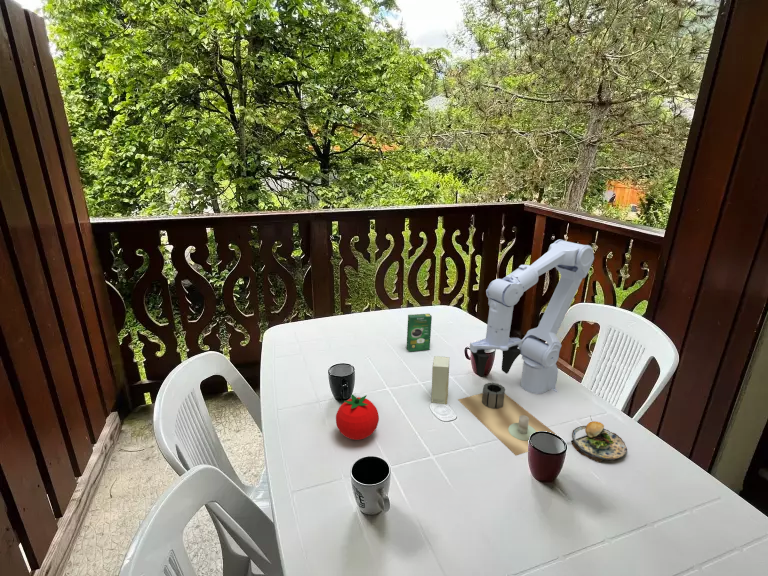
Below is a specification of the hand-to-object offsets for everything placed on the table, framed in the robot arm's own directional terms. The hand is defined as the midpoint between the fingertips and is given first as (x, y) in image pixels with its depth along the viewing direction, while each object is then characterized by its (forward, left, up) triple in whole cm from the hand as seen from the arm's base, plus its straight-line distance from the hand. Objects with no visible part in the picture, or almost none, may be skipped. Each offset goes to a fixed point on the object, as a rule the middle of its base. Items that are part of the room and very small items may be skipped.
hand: (492, 373), depth 109 cm
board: (0, +7, -10) cm, 12 cm away
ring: (-1, 0, -9) cm, 9 cm away
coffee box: (+2, -38, -11) cm, 39 cm away
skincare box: (+11, -8, -11) cm, 17 cm away
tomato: (+37, -3, -11) cm, 39 cm away
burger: (-14, +23, -11) cm, 29 cm away
